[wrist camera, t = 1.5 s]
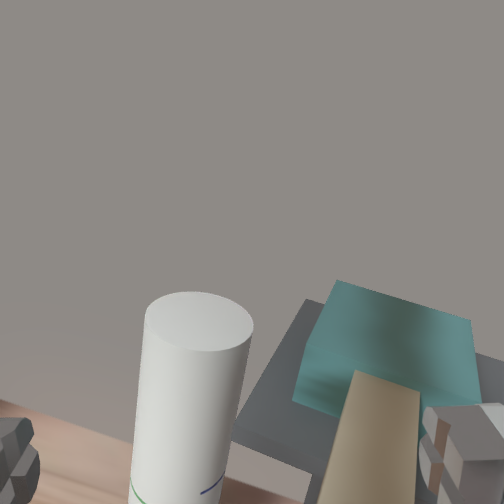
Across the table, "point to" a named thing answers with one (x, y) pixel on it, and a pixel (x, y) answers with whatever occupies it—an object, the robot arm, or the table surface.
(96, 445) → the table surface
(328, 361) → the tan and teal block
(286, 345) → the stand
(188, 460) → the cylindrical container
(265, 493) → the table surface
